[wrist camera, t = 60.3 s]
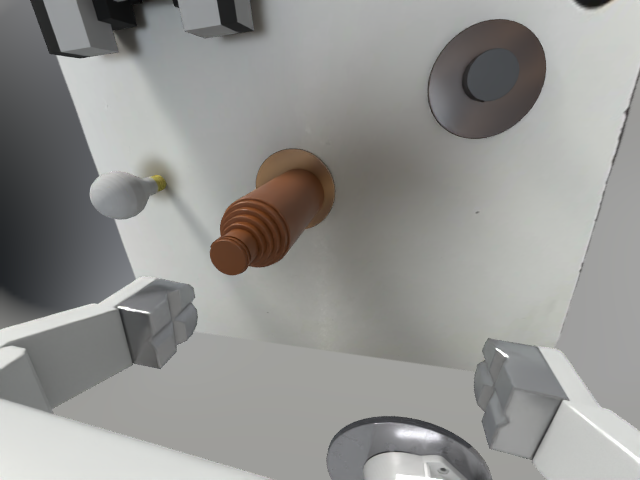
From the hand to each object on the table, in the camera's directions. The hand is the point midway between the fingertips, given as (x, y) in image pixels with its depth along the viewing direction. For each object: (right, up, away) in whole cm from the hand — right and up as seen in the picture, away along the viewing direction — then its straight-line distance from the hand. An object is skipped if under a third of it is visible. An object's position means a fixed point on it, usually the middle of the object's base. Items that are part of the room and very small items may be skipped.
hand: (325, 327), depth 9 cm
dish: (+15, +17, +21) cm, 31 cm away
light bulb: (-22, +10, +34) cm, 41 cm away
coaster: (-3, +9, +30) cm, 31 cm away
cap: (+15, +17, +18) cm, 29 cm away
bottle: (-3, +8, +29) cm, 30 cm away
